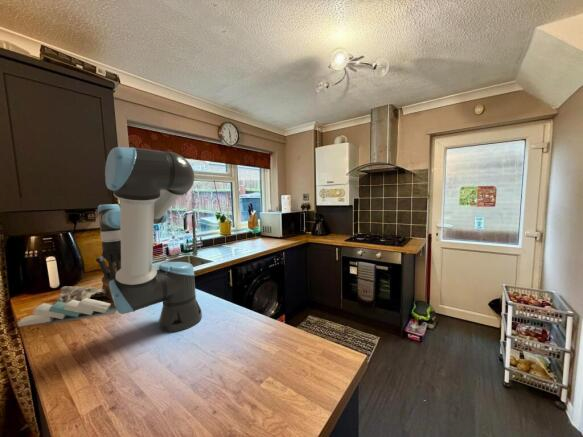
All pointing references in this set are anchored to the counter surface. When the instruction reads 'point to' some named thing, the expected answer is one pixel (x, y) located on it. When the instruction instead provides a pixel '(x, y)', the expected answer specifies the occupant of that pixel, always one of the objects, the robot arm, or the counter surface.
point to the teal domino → (60, 309)
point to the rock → (79, 293)
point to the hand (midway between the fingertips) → (118, 293)
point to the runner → (83, 316)
